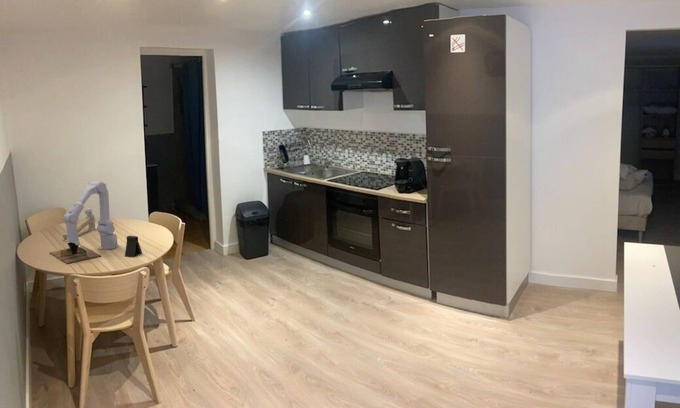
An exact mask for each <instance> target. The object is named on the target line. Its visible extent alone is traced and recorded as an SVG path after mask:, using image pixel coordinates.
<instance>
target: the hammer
mask: <svg viewBox="0 0 680 408" xmlns="http://www.w3.org/2000/svg"><path fill="white" fill-rule="evenodd" d="M84 214H85V215H86V216H85V218H84V219H83V220H81V222H79V223H77V232H78V234H79V233H80V232H81V231H82V230H83V229H84V228H86V227H87V225H88V228H87V230H88V231H89V232H90V231H91V232H94V231H95V228H96V219H95V215H94V214H93V208H91V207H87V208H85V209H84ZM62 237H63V239H64V240H65V241H66V240H67V232H65V233H63V234H62Z"/></svg>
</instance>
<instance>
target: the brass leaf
mask: <svg viewBox="0 0 680 408" xmlns="http://www.w3.org/2000/svg"><path fill="white" fill-rule="evenodd" d="M82 246H83V245H79V246H78V249H77V253H78V250H80V247H82ZM59 251H60V257H62V256H67V255H72V252H71V249H70V247H69V248H64V249H59Z"/></svg>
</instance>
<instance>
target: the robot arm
mask: <svg viewBox="0 0 680 408" xmlns="http://www.w3.org/2000/svg"><path fill="white" fill-rule="evenodd" d="M95 194H97V195H98V201H99V203H98V204H99V216H100V217H99V220H98V221H97V225H96V231H97V233H98V234H99V236H100V237H99V238H100V247H99V248H98V250H114V249H115V248H117V247H118V246H119V244H118V236H117V234H116V233H114V232H115V226H114V222H113V221H112V220H111V219H110V217H111V216H110V199H109V190H108V188H107V184H106V183H105V182H103V181H96V180H95V181H94V180H89V181H88V183H87V184H86V185H85V189H84V191H83V193H81V196H80V198H79V200H78V201H75V202H73V204H72V206H71V208H70V209H69V210H68V212H66V213H65V214H64V215H63V218H62V220H63V221H64V223H65V229H66V233H67V240H65V242H66V243H67V245H68V247H69V248H70V249H71V252H72V254H73V255H74V254H77V249H78V246H81V245H80V240H79V236H78V235H79V233H78V232H77V225H78V223H77V222H78V221H79V216H80V214H81V212H82V211H83V210H84V208H85V204H86V203H87V201H88V199H89V198H90V197H91V196H92V195H95Z"/></svg>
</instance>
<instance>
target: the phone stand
mask: <svg viewBox="0 0 680 408" xmlns="http://www.w3.org/2000/svg"><path fill="white" fill-rule="evenodd" d="M141 254H143V250H142V248H141V245H140V242H139V236H136V235H127V236H126V244H125V252H124V257H126V258H127V257H128V258H135V257H137V256H139V255H141Z"/></svg>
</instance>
